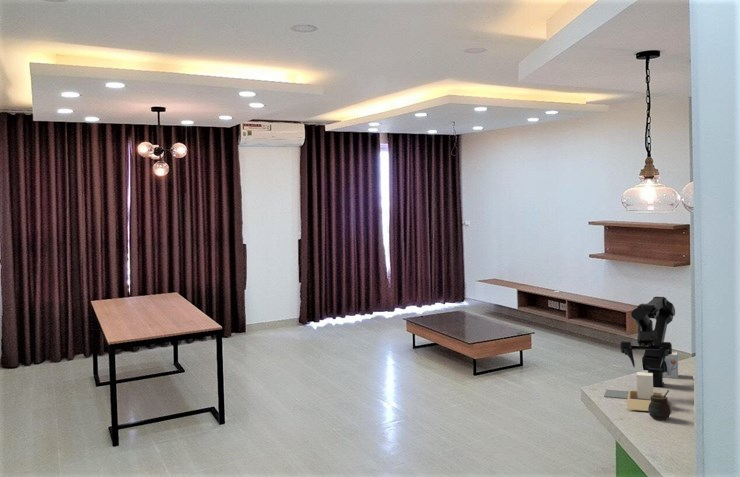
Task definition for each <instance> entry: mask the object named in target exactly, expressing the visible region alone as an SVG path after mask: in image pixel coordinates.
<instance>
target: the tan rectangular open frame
mask: <svg viewBox="0 0 740 477" xmlns="http://www.w3.org/2000/svg"><path fill="white" fill-rule="evenodd" d="M628 391H629V393H628V398H627V399H626V409H627V410H629V411H630V410H631V411H640V412H642V411H643V412H649V411H648V407H649V404H650V402H651V400H640V399H637V390H636V389H635V390H634V389H632V390H631V389H629V390H628ZM653 395H664V393H663V392H658V391H653Z"/></svg>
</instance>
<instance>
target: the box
mask: <svg viewBox="0 0 740 477" xmlns="http://www.w3.org/2000/svg"><path fill="white" fill-rule="evenodd" d="M636 391H637V399H640V400H651V395H653V392H654V386H653V373H648V372H641V371H640V372H638V371H637V372H636Z"/></svg>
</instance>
